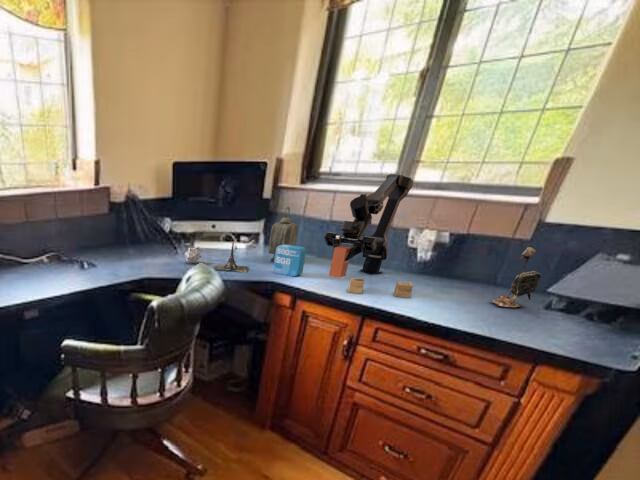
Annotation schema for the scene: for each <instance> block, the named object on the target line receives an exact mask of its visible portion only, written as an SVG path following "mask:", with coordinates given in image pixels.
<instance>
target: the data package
mask: <svg viewBox="0 0 640 480" xmlns="http://www.w3.org/2000/svg"><path fill="white" fill-rule="evenodd" d="M306 254H307V249H306V247H304V246H300V245H299V246H298V245H295V246H292V245H285V244H284V245H281V246H278V247H277V248H276V254H275V257H274V260H273V268H272V269H273V270H272V271H273V272H274V273H275V274H278V275H285V276H289V277H297V276H300V275H302V274H303V271H304V266H305V260H306V256H307V255H306Z"/></svg>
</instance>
